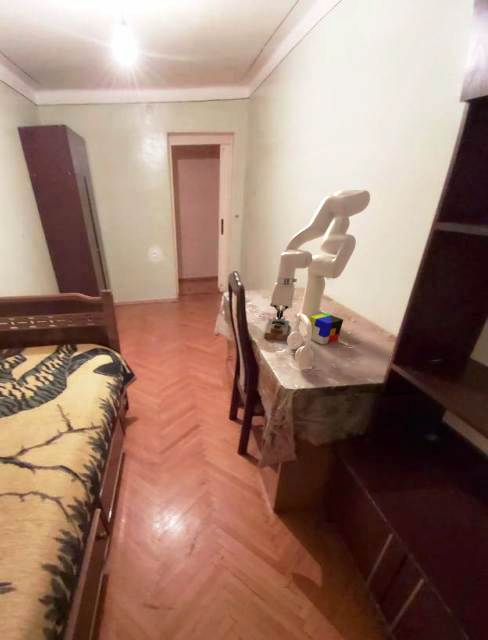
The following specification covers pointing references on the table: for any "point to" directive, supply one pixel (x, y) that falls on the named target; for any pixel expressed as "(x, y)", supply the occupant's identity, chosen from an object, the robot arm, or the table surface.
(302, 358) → the headset
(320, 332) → the puzzle toy
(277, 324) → the key ebony
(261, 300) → the table surface
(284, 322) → the block black
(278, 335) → the block walnut
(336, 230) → the robot arm
